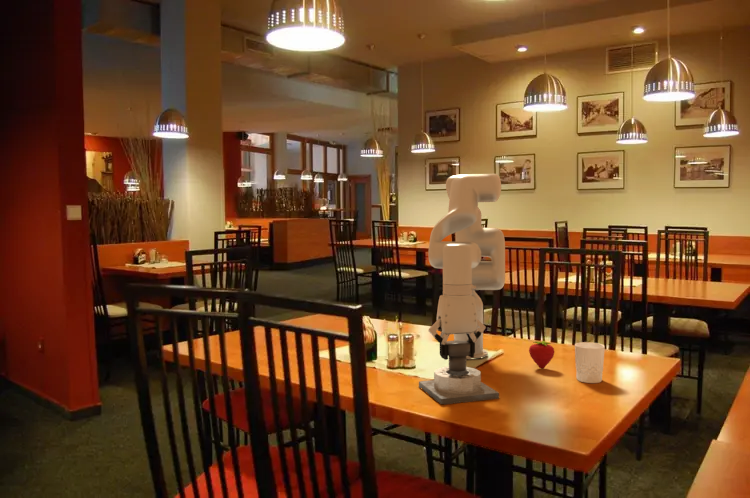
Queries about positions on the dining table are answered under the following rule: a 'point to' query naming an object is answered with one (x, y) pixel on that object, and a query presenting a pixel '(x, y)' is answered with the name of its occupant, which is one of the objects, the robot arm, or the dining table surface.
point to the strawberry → (541, 353)
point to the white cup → (589, 361)
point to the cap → (458, 355)
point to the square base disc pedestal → (458, 386)
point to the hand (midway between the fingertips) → (457, 356)
